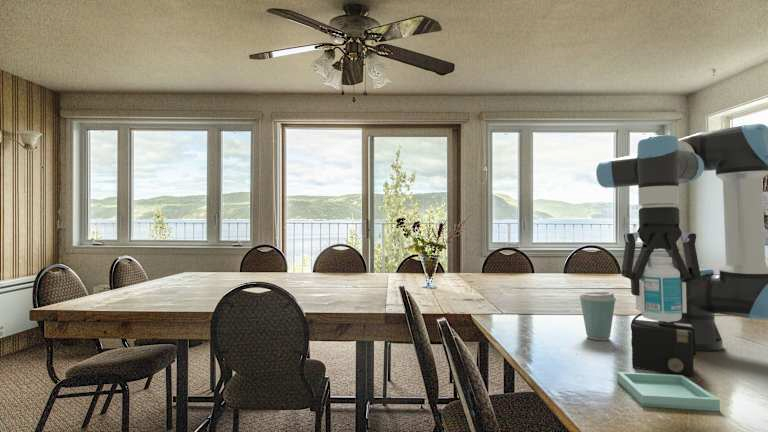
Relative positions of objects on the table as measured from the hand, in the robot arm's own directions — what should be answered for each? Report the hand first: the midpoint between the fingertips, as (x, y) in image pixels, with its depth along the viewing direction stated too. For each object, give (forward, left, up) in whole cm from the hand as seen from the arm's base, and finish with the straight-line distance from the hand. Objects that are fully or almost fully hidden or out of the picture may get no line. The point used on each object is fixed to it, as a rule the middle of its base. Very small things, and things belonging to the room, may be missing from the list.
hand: (660, 310), depth 92 cm
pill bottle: (0, 0, -2) cm, 2 cm away
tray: (0, 0, -18) cm, 18 cm away
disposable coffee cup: (-1, -47, -18) cm, 50 cm away
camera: (-8, -19, -18) cm, 28 cm away
